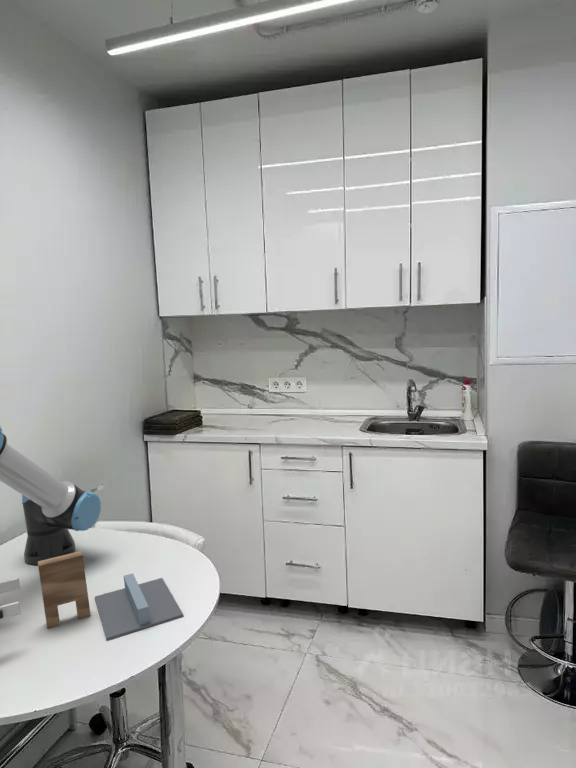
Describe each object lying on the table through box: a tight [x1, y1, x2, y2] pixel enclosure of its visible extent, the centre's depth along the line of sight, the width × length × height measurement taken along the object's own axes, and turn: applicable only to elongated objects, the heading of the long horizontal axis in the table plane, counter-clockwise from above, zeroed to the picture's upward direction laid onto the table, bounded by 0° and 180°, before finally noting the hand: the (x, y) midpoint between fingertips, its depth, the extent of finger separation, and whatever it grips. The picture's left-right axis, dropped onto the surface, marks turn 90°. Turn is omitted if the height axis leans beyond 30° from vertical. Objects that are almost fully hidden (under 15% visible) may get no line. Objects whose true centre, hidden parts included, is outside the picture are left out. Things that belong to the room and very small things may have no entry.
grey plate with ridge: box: [94, 573, 184, 641], centre depth 138 cm, size 22×18×5 cm
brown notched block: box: [37, 550, 92, 630], centre depth 134 cm, size 3×10×16 cm, turn 116°
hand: (19, 594), depth 130 cm, fingers open, 13 cm apart
